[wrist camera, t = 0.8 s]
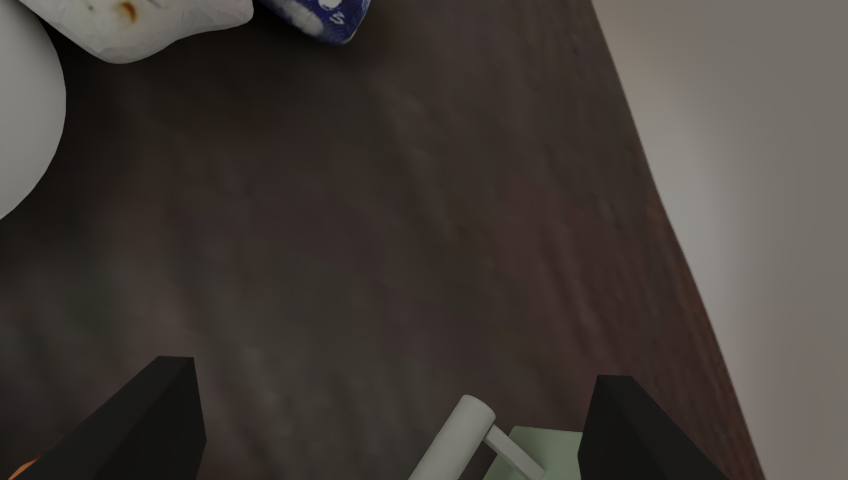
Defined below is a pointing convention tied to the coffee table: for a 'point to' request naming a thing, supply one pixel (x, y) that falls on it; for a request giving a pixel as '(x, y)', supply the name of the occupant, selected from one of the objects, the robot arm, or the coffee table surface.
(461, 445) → the drawer
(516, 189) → the coffee table surface
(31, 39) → the flower in vase
